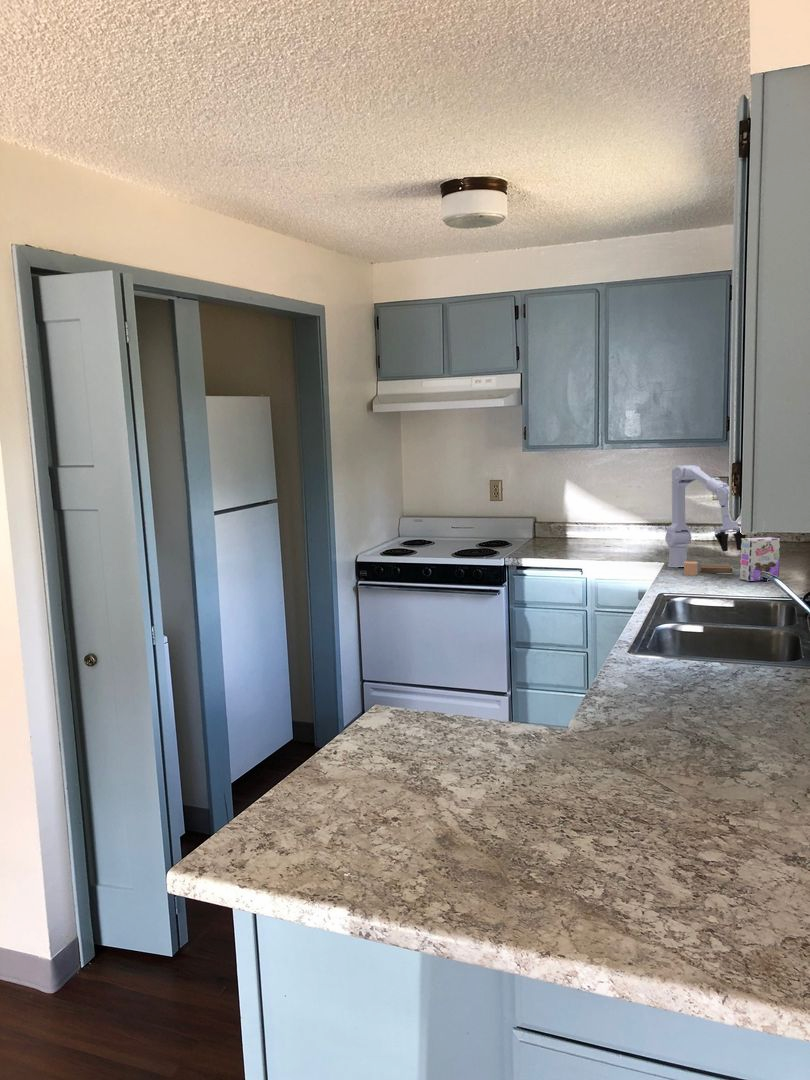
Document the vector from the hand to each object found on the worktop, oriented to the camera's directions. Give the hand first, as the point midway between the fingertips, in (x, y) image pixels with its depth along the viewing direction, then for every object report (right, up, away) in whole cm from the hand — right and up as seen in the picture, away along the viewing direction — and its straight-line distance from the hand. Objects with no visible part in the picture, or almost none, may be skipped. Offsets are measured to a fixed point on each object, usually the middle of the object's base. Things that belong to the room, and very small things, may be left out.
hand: (732, 550), depth 331 cm
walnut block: (-1, -10, +14) cm, 17 cm away
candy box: (+7, -12, -7) cm, 16 cm away
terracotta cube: (-14, -10, +9) cm, 19 cm away
